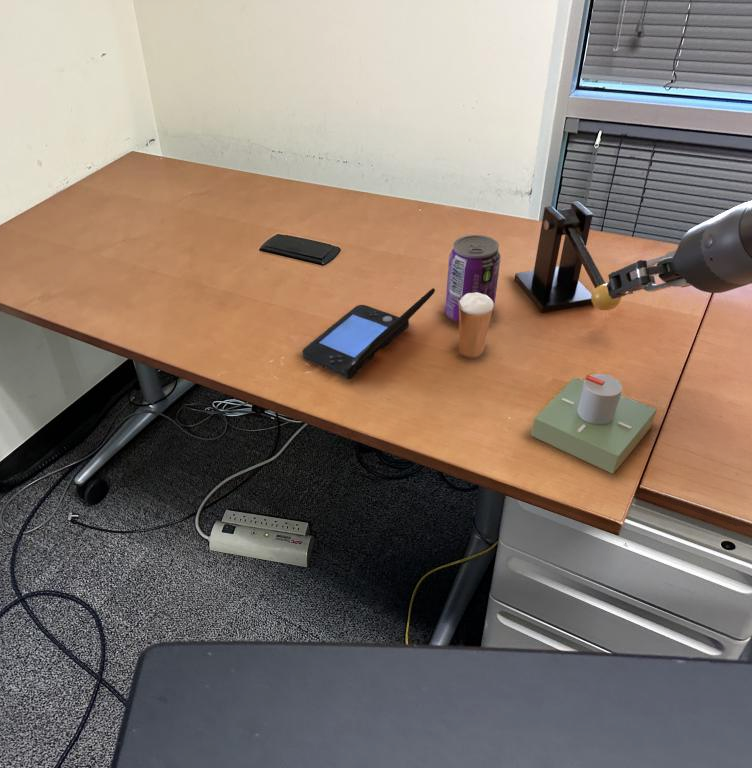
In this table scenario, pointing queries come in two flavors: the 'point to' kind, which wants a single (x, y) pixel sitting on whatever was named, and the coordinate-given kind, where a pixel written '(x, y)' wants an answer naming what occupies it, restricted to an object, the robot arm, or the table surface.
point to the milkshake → (474, 323)
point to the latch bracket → (558, 283)
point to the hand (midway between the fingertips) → (646, 284)
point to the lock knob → (599, 399)
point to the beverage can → (471, 271)
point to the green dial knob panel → (592, 428)
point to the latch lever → (587, 262)
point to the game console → (358, 338)
